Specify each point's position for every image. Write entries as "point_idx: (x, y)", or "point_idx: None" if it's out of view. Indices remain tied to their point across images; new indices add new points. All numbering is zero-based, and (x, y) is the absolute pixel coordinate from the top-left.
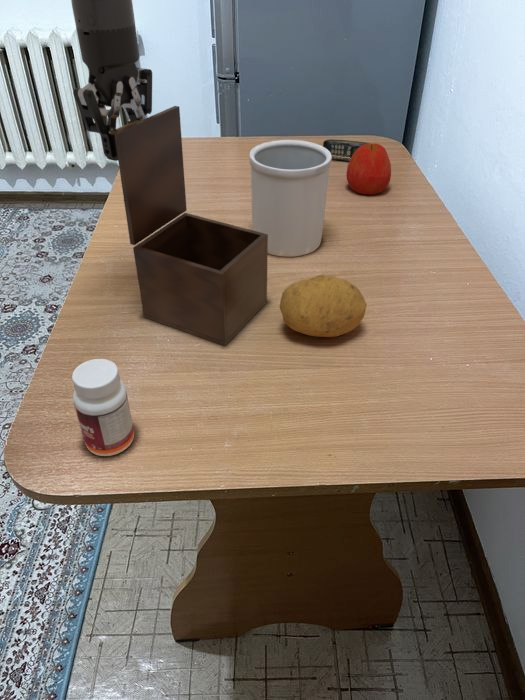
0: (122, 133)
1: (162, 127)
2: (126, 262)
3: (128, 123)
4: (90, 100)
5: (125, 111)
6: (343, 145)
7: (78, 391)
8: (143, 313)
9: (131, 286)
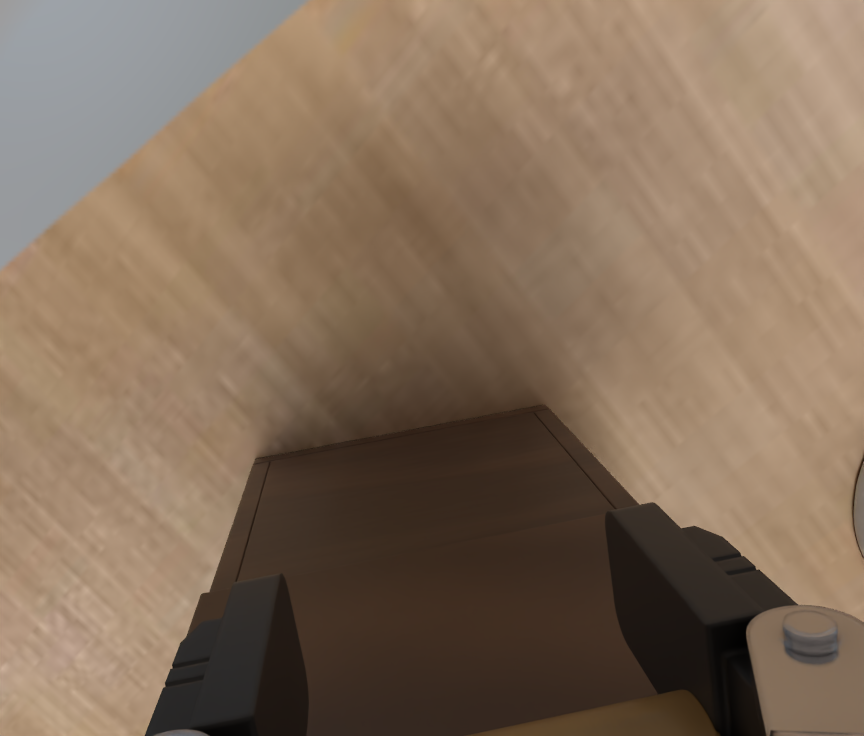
0: None
1: None
2: (479, 100)
3: (696, 628)
4: None
5: (763, 716)
6: None
7: None
8: (253, 465)
9: (363, 266)
